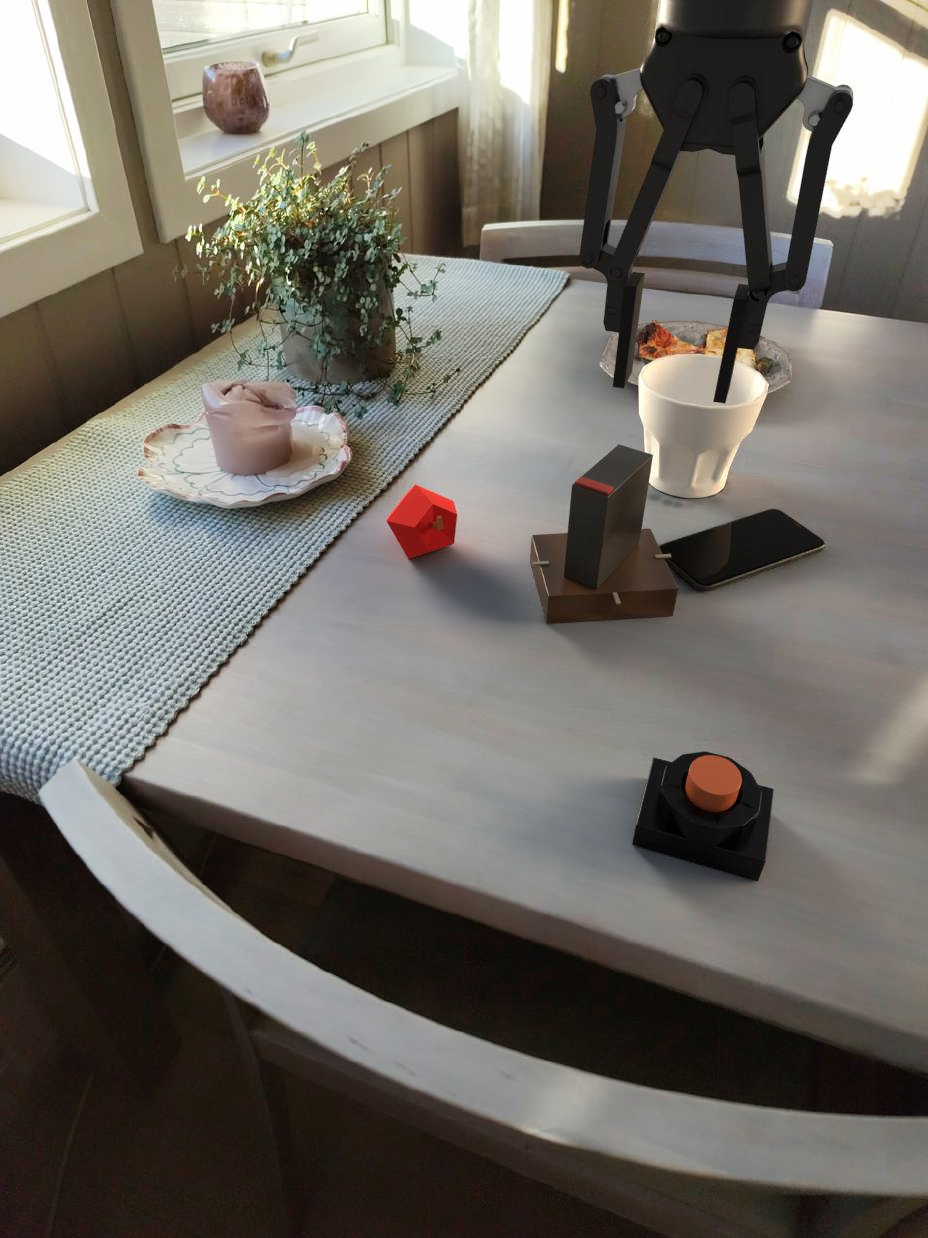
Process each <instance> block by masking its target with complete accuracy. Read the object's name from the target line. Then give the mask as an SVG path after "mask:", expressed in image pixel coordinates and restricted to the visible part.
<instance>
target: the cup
mask: <svg viewBox="0 0 928 1238" xmlns="http://www.w3.org/2000/svg"><path fill="white" fill-rule="evenodd" d="M721 360H722V357H718V356H711V355H703V354H678V355H672V356H667V357H662V358H658V359H656V360H654V361H652V362H650V363H649V364H647V365H645V366H644V367H643V369H642V371H641V373H640V375H639V386H638V415H639V418H640V420H641V423H642V426H643V441H644V443H643V444H644V452H646V453H649V454H652V455H653V460H652V466H651V472H650V478H649V484H650V485H651V486H652V487H653V488H655V489H656V490H657V491H660V492H662V493H664V494H667V495H669V496H674V497H678V498H684V499H702V498H707V497H710V496H714V495H717V494H719V492H721V491H722V490H723V489H724V488H725V485H726V482H727V478H728V474H729V470H730V468H731V465H732V463H733V461H734V459H735V456H736V454H737V453H738V449H739V447H740V445H741V442H742V441H743V440H744V439H745V438H746V437H747V436H749V434H751V432H752V431H754V427H755V424H756V423H757V419H758V417H759V415H760V412H761V409H762V407H763V405H764V402H765V400H766V398H767V395H768V394H767V391H768V386H769V384H768V382H767V381H766V380H765V379H764V377H763V376H762V375H761V373H760V372H758V371H756V370H754V369H753V368H751V367H749V366H748V365H746V364H744V363H741V362H737V361H735V365H734V370H733V374H732V379H731V384H730V388H729V392H728V395H727V399H726V403H725V404H724V403H718V402H713V400H714V395H715V390H716V385H717V380H718V375H719V370H720V365H721Z"/></svg>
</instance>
